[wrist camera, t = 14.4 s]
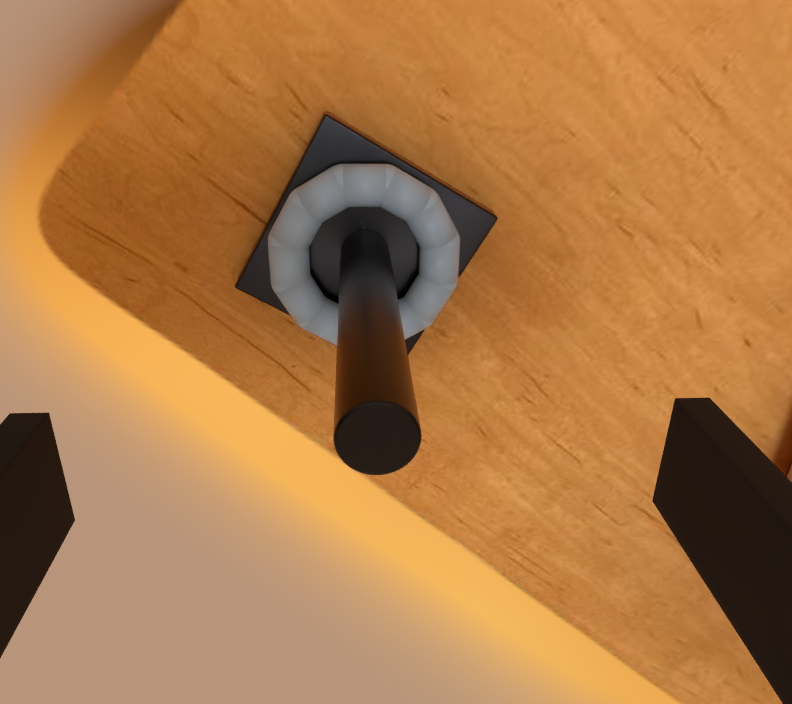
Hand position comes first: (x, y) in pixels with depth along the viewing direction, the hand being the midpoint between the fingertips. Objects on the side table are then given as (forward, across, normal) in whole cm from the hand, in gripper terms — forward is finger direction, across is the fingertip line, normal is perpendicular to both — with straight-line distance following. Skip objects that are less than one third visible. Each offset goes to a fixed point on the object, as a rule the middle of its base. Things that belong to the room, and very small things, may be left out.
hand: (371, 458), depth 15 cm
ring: (+14, 0, 0) cm, 14 cm away
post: (+16, 0, 0) cm, 16 cm away
